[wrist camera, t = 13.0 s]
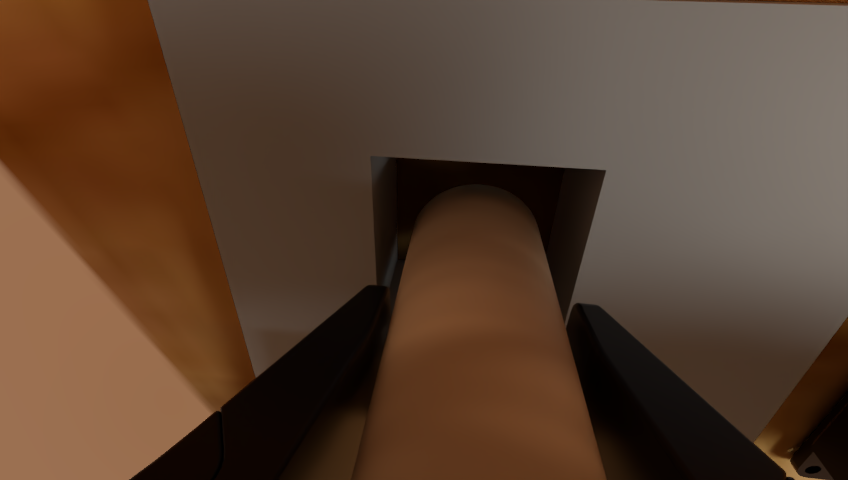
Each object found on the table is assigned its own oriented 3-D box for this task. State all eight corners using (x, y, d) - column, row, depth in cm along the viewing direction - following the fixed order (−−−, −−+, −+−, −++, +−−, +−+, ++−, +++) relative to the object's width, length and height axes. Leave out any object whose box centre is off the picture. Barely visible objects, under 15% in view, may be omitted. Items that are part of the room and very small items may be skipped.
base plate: (892, 4, 8) (1076, 11, 6) (634, 483, 18) (661, 566, 15) (233, -14, 9) (143, -14, 7) (319, 446, 19) (295, 517, 16)
